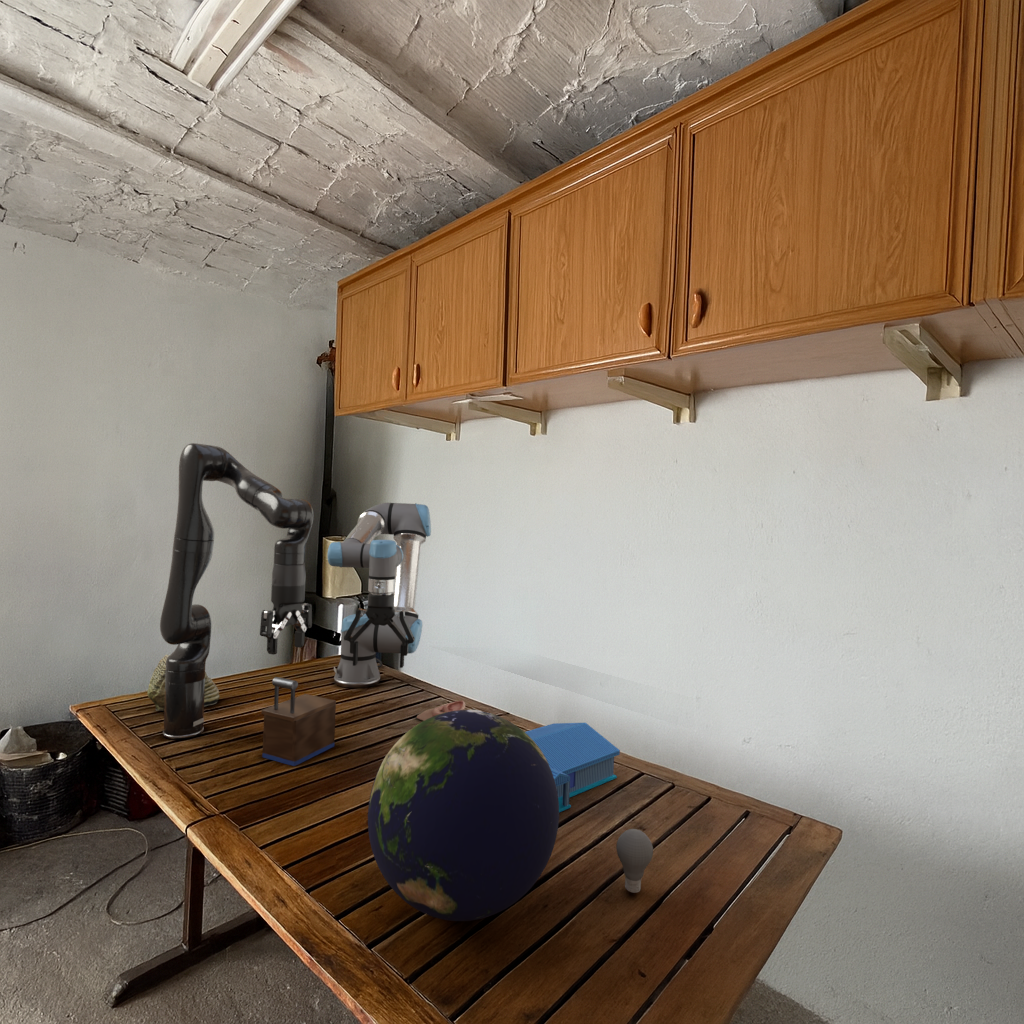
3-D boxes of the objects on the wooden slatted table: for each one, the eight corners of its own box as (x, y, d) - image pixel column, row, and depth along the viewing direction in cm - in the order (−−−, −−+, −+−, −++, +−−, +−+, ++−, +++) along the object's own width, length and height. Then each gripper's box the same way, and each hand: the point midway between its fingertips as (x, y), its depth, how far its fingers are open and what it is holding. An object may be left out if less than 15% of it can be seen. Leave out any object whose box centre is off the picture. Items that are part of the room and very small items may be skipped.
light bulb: (610, 879, 108) (613, 822, 108) (644, 879, 109) (647, 822, 109) (619, 902, 102) (622, 840, 102) (655, 901, 103) (658, 840, 103)
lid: (293, 721, 147) (294, 684, 147) (261, 713, 151) (262, 677, 151) (335, 704, 160) (337, 670, 160) (305, 697, 165) (306, 664, 165)
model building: (501, 837, 120) (504, 785, 120) (427, 790, 139) (429, 744, 138) (628, 782, 147) (630, 739, 147) (552, 748, 165) (553, 710, 165)
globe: (322, 932, 92) (330, 728, 92) (425, 835, 120) (432, 678, 119) (512, 1001, 81) (522, 769, 81) (577, 877, 109) (585, 703, 108)
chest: (294, 766, 148) (296, 720, 148) (262, 757, 152) (263, 713, 152) (334, 746, 161) (335, 704, 160) (303, 738, 165) (305, 697, 165)
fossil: (144, 707, 182) (145, 655, 182) (212, 696, 194) (213, 647, 194) (151, 716, 175) (153, 662, 175) (221, 703, 188) (223, 653, 188)
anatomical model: (413, 707, 181) (426, 695, 192) (412, 720, 181) (426, 708, 192) (457, 712, 178) (468, 699, 189) (457, 726, 178) (468, 713, 189)
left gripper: (277, 587, 142) (275, 659, 143) (321, 581, 155) (319, 646, 156) (253, 584, 146) (250, 654, 146) (298, 578, 159) (295, 642, 159)
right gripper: (334, 593, 180) (332, 667, 181) (422, 596, 181) (419, 670, 181) (341, 589, 188) (339, 660, 188) (425, 593, 188) (422, 664, 188)
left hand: (286, 650), depth 151 cm, fingers open, 8 cm apart
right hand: (378, 665), depth 185 cm, fingers open, 13 cm apart
